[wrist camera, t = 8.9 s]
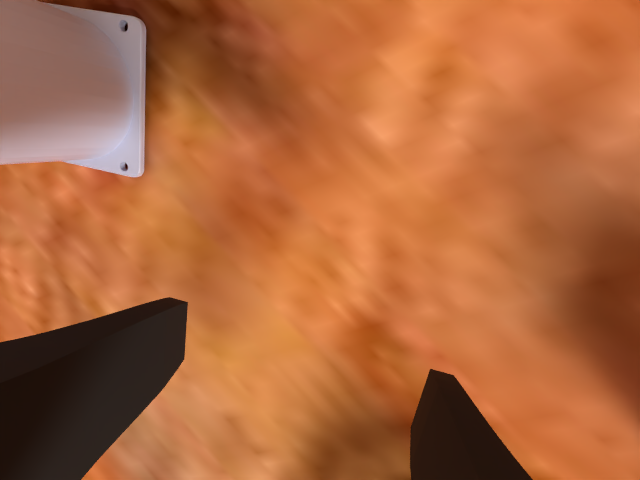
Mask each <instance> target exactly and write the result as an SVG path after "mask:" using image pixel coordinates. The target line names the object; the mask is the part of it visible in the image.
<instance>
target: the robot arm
mask: <svg viewBox="0 0 640 480" xmlns="http://www.w3.org/2000/svg"><path fill="white" fill-rule="evenodd" d="M126 23H128V30H127V31H125V24H126ZM145 74H146V26H145V24H144V22H143V21H142V20H141V19H139V18H136V17H134V16H129V15H122V14H116V13H109V12H103V11H96V10H89V9H83V8H76V7H69V6H63V5H56V4H50V3H43V2H40V1H37V0H0V164H17V163H34V162H51V161H63V162H67V163H72V164H76V165H80V166H85V167H89V168H94V169H98V170H103V171H107V172H112V173H116V174H120V175H125V176H129V177H139V176H141V175H142V174H143V172H144V140H145ZM125 163H126V164H127V165H128V170H127V169H126V168H125ZM187 306H188V302H185V301H181V300H177V299H174V298H170V297H169V298H164V299H160V300H156V301H152V302H149V303H145V304H142V305H138V306H135V307H132V308H129V309H125V310H122V311H119V312H116V313H112V314H109V315H106V316H102V317H99V318H96V319H92V320H89V321H85V322H82V323H78V324H74V325H71V326H67V327H63V328H60V329H56V330H52V331H49V332H45V333H41V334H37V335H33V336H28V337H24V338H19V339H15V340H10V341H5V342H0V480H81V479H82V478H83V477H84V475H85V474H86V473H87V472H88V471H89V470H90V468H91V467H92V466H93V465H94V464H95V463H96V461H97V460H98V459H99V458H100V457H101V456H102V455H103V454H104V453H105V451H106V450H107V449H108V448H109V447H110V446H111V445H112V444H113V443H114V442H115V441H116V440H117V438H118V437H119V436H120V435H121V434H122V433H123V432H124V431H125V430H126V429H127V428H128V427H129V426H130V424H131V423H132V422H133V421H134V420H135V419H136V418H137V417H138V416H139V415H140V414H141V413H142V412H143V410H144V409H145V408H146V407H147V406H148V405H149V404H150V403H151V402H152V401H153V399H154V398H155V397H156V396H157V395H158V394H159V393H160V392H161V391H162V389H163V388H164V387H165V386H166V384H167V383H168V381H169V380H170V379H171V377H172V376H173V375H174V373H175V372H176V370H177V369H178V367H179V366H180V365H181V363H182V362H183V360H184V355H185V338H186V322H187ZM410 469H411V480H532V478H531V477H530V476H529V475H528V474H527V472H526V471H525V470H524V469H523V468H522V466H521V465H520V464H519V463H518V461H517V460H516V459H515V458H514V456H513V455H512V454H511V453H510V451H509V450H508V449H507V447H506V446H505V445H504V444H503V442H502V441H501V440H500V438H499V437H498V436H497V434H496V433H495V432H494V430H493V429H492V428H491V426H490V425H489V424H488V422H487V421H486V420H485V418H484V417H483V415H482V414H481V413H480V411H479V410H478V408H477V407H476V406H475V404H474V403H473V401H472V400H471V399H470V397H469V396H468V394H467V393H466V392H465V390H464V389H463V387H462V386H461V385H460V383H459V382H458V381H457V379H456V378H455V377H454V375H451V374H447V373H444V372H440V371H436V370H433V369H430V371H429V374H428V377H427V380H426V383H425V386H424V389H423V392H422V395H421V398H420V401H419V404H418V407H417V410H416V413H415V416H414V419H413V422H412V425H411V443H410Z"/></svg>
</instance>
